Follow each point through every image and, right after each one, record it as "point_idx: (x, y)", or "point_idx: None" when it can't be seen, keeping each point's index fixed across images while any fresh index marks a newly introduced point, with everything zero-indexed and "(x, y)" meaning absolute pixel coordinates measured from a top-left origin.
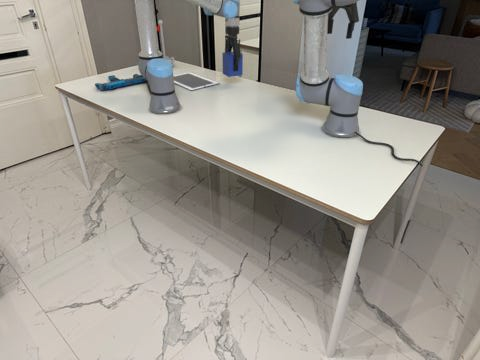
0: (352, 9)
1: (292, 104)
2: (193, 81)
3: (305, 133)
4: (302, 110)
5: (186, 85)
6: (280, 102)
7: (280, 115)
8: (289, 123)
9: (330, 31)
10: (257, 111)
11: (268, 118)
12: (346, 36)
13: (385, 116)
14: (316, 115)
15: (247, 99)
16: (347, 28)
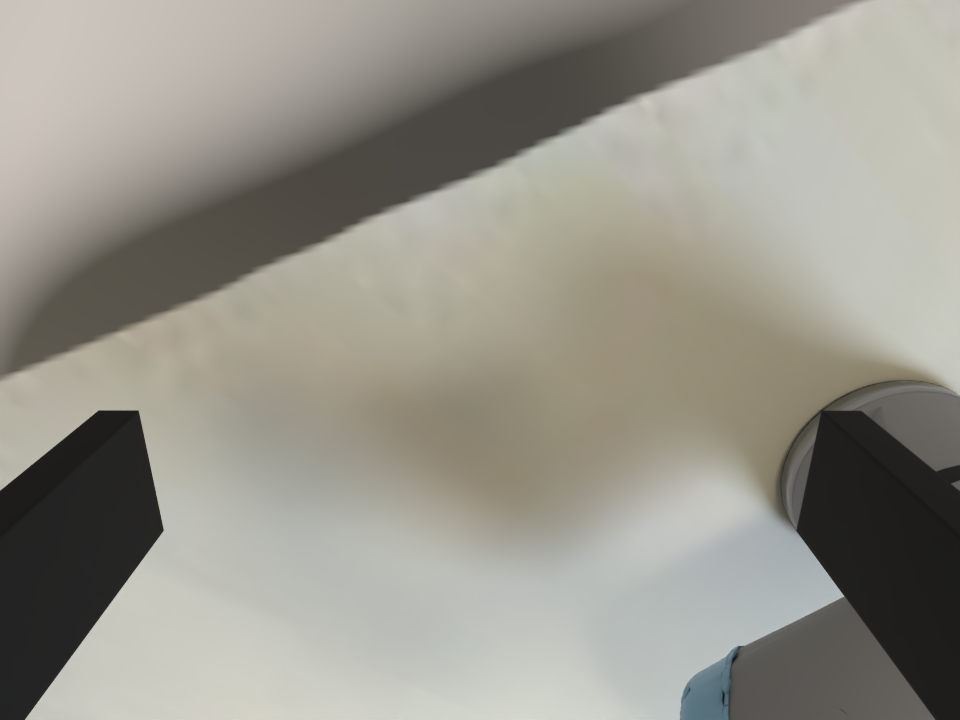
0: None
1: (401, 467)
2: None
3: (780, 627)
4: (522, 473)
5: None
6: (334, 510)
7: (521, 611)
8: (638, 626)
9: (123, 489)
10: (408, 675)
11: (523, 674)
12: (827, 560)
13: (957, 30)
14: (635, 449)
15: (203, 640)
16: (931, 713)
